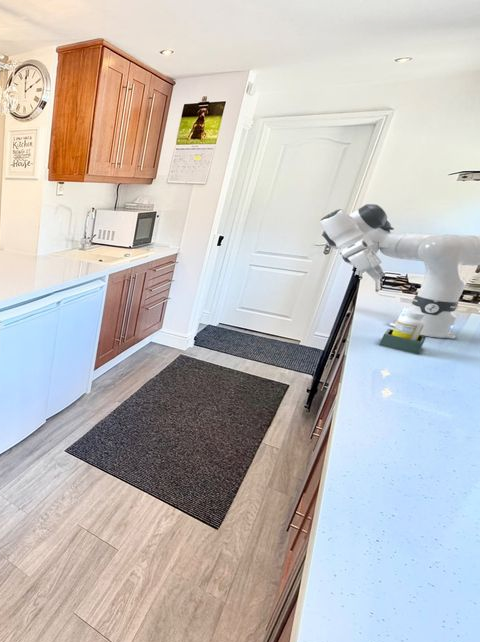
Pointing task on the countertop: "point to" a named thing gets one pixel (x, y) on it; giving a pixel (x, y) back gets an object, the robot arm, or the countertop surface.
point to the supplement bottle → (409, 325)
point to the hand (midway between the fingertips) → (380, 278)
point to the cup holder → (402, 342)
